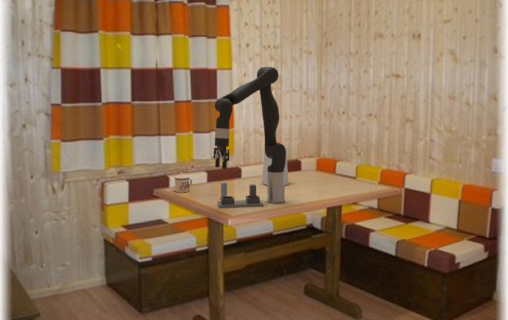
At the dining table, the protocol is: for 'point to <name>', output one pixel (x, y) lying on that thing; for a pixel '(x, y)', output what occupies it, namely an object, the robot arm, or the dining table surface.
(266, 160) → the plastic bottle
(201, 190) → the dining table surface
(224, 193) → the plug
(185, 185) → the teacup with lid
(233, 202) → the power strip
